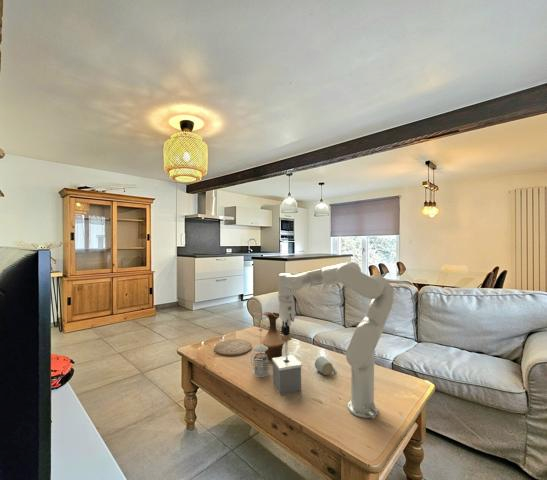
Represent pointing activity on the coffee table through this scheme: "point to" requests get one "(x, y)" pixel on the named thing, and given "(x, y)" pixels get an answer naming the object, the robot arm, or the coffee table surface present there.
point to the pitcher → (272, 337)
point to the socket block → (286, 374)
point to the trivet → (233, 347)
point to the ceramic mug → (324, 366)
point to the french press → (260, 361)
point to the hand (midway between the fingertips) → (285, 334)
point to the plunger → (286, 344)
